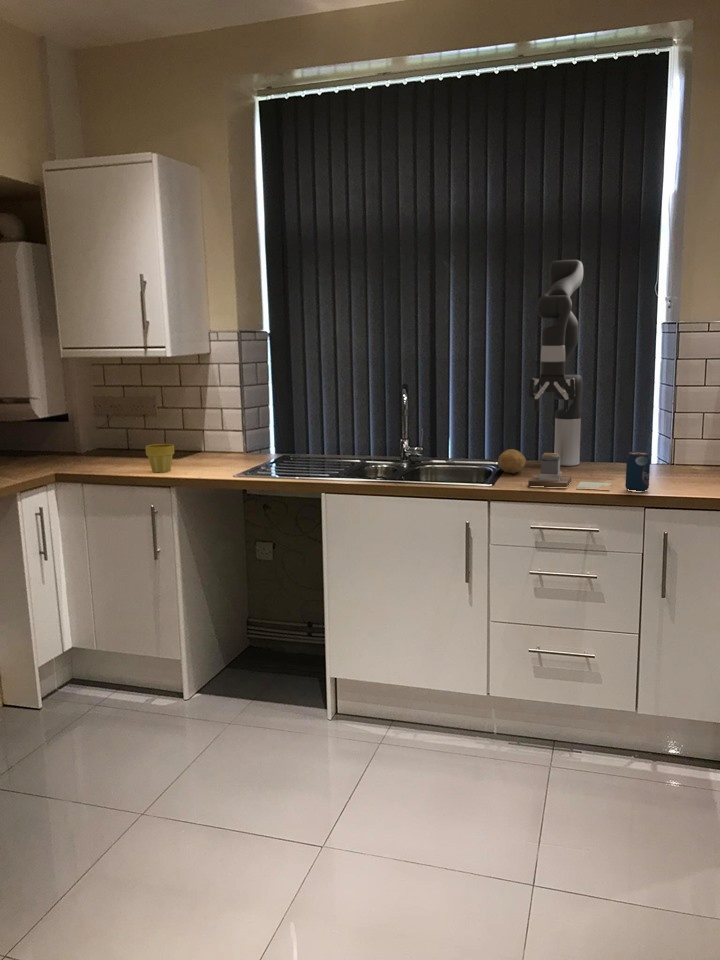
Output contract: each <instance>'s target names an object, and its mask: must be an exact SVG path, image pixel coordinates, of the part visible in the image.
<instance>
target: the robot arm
mask: <svg viewBox="0 0 720 960" xmlns="http://www.w3.org/2000/svg"><path fill="white" fill-rule="evenodd" d="M548 273H549V276H548V277H549V291H547V292H545V293H544V294H542V295H541V296H540V298H539V299H538V301H537V303H536V312H537V314H538V317H540V318H541V319H545V320H546V319H551V325H549V326H546V327H544V328H543V329H542V335H541V337H542V338H541V341H542V342H541V351H540V375H539V376H540V377H539V378H535V377H532V378H530V380H529V392H528V396H529V398H532V399H534V409H535V410H536V412H540V410H541V399H540V398H541V396H542V395H543V394H544V392H546V393H551V394H552V397H553V399H555V400H559V401H562V400H563V407H562V408H560V409H557V410H556V411H555V416H554V417H555V419H554V445H553V446H554V451H553V452H554V453H558V455H560V466H565V467H566V466H570V467H571V466H578V465H580V454H581V422H582V418H581V417H582V400H583V399H582V398H583V388H584V387H583V386H584V381H583V377H582V375H580V374H566V361H567V360H568V358H569V357H570V355H572V352H573V351H574V350H575V348H576V346H577V344H578V343H579V322H578V319H577V317H576V316H575V314H574V313H573V311H572V308H573V302H572V299H571V296H572V295H573V293H574V292H575V291H576V290H577V289H578V288H579V287H580V286H581V284H582V283H583V278H584V265H583V262H582V261H580V260H578V259H563V260H562V259H561V260H553V261H552V262H551V263H550V265H549V272H548ZM538 383H539V385H540V386H541V388H540V389H539V390H538V391H537V393H535V387H536V385H538ZM570 400H571V401H572V402H571V404H570Z"/></svg>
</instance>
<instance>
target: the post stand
mask: <svg viewBox="0 0 720 960" xmlns="http://www.w3.org/2000/svg"><path fill="white" fill-rule="evenodd" d="M570 482H571V483H572V476H570V475H569V476H568V475H567V476H566V475H563V474H562V471H560V472H559V474H558V475H555V474H541V471H540V472H539V474H534V475H533V476H532V477H531V478H530V479H529V480H528V486H544V487H567V486H568V485H569V483H570ZM571 483H570V484H571ZM569 486H570V485H569ZM569 486H568V487H569Z"/></svg>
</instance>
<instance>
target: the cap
mask: <svg viewBox="0 0 720 960" xmlns="http://www.w3.org/2000/svg"><path fill="white" fill-rule="evenodd" d="M540 472H541V474H555V475H558V474H559V472H561V465H560V455H558V453H553V452H552V453H551V452H544V453H543V454H541V461H540Z"/></svg>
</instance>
